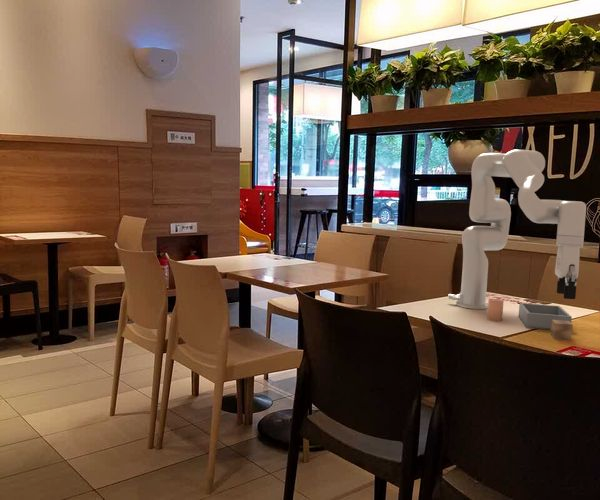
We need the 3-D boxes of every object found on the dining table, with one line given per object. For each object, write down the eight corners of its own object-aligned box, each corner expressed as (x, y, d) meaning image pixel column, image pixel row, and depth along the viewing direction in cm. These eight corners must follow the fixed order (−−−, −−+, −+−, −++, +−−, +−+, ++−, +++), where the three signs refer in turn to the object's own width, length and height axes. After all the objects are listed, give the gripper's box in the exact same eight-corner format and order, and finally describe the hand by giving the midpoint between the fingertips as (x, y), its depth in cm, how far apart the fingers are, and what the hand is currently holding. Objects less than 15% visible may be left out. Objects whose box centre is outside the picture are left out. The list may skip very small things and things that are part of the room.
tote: (526, 327, 188) (527, 313, 187) (518, 316, 205) (519, 302, 204) (570, 331, 185) (571, 316, 184) (558, 319, 202) (559, 306, 201)
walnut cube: (553, 338, 175) (555, 323, 174) (550, 334, 180) (552, 319, 179) (571, 340, 174) (572, 324, 173) (567, 336, 179) (568, 321, 178)
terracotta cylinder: (487, 320, 196) (489, 300, 196) (486, 317, 201) (487, 298, 200) (502, 321, 195) (504, 302, 194) (501, 318, 200) (502, 299, 199)
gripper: (551, 238, 182) (547, 290, 184) (563, 242, 166) (558, 300, 167) (576, 240, 181) (571, 292, 182) (590, 244, 164) (586, 301, 166)
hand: (565, 296), depth 175 cm, fingers open, 9 cm apart
